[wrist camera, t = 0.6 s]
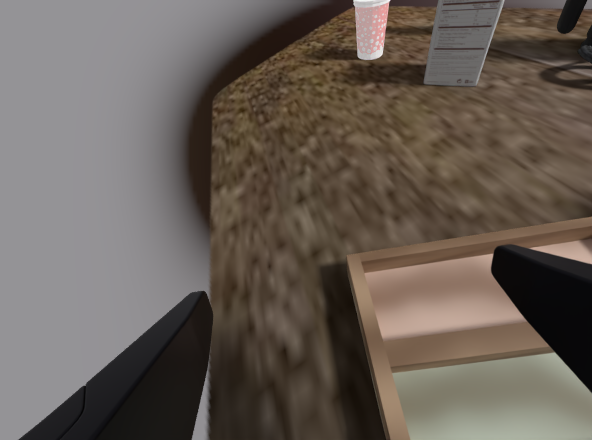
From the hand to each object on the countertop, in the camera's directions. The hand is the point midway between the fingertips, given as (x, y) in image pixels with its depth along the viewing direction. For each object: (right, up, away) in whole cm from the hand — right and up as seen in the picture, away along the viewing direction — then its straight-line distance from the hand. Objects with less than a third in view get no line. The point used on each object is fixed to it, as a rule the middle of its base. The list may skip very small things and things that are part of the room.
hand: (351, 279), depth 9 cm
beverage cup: (+12, +33, +44) cm, 57 cm away
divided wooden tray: (+14, -6, +10) cm, 18 cm away
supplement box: (+22, +24, +35) cm, 48 cm away
